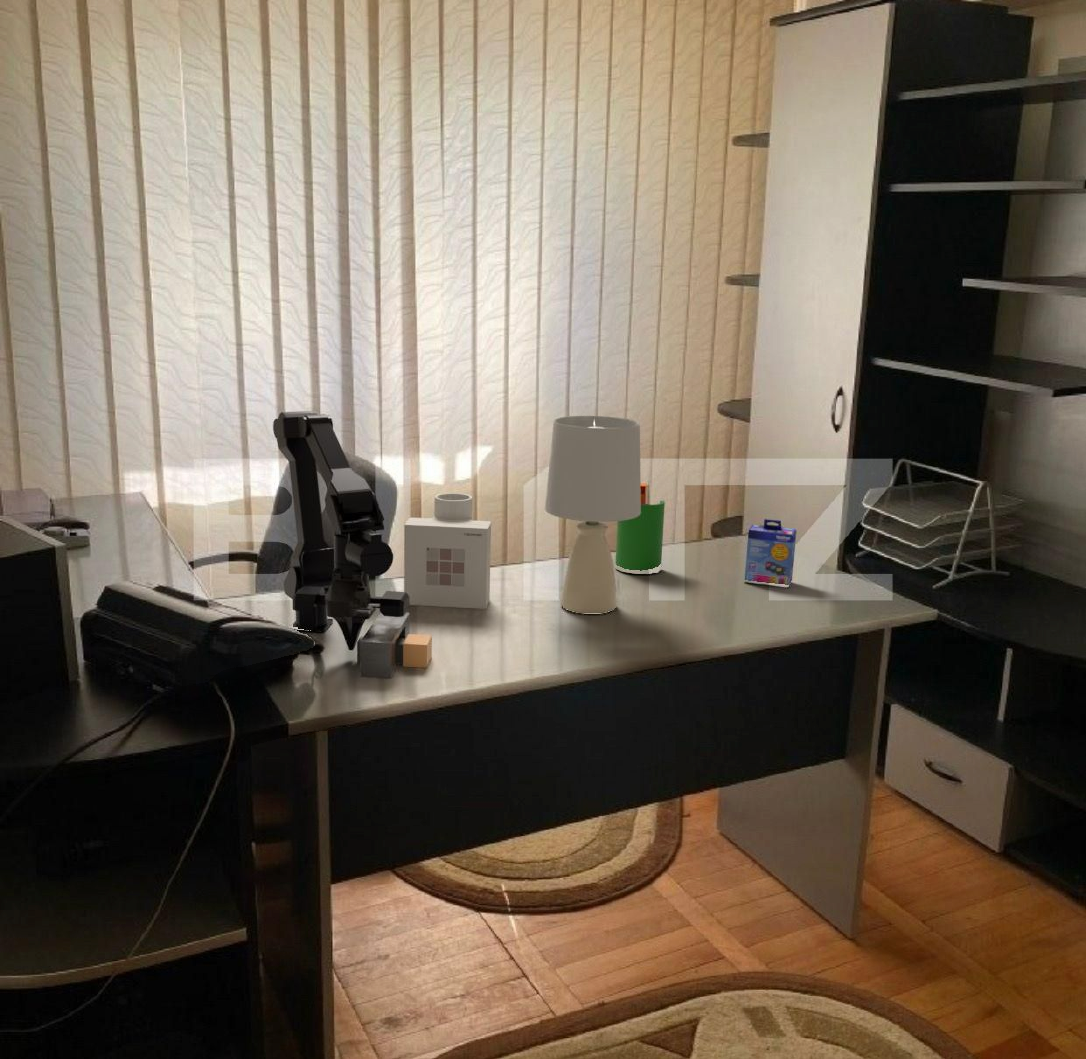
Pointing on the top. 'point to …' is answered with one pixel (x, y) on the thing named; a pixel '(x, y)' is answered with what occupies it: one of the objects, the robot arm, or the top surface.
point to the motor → (641, 537)
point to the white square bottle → (448, 556)
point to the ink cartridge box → (770, 553)
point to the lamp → (593, 499)
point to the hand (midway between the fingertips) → (351, 649)
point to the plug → (410, 650)
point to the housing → (382, 645)
